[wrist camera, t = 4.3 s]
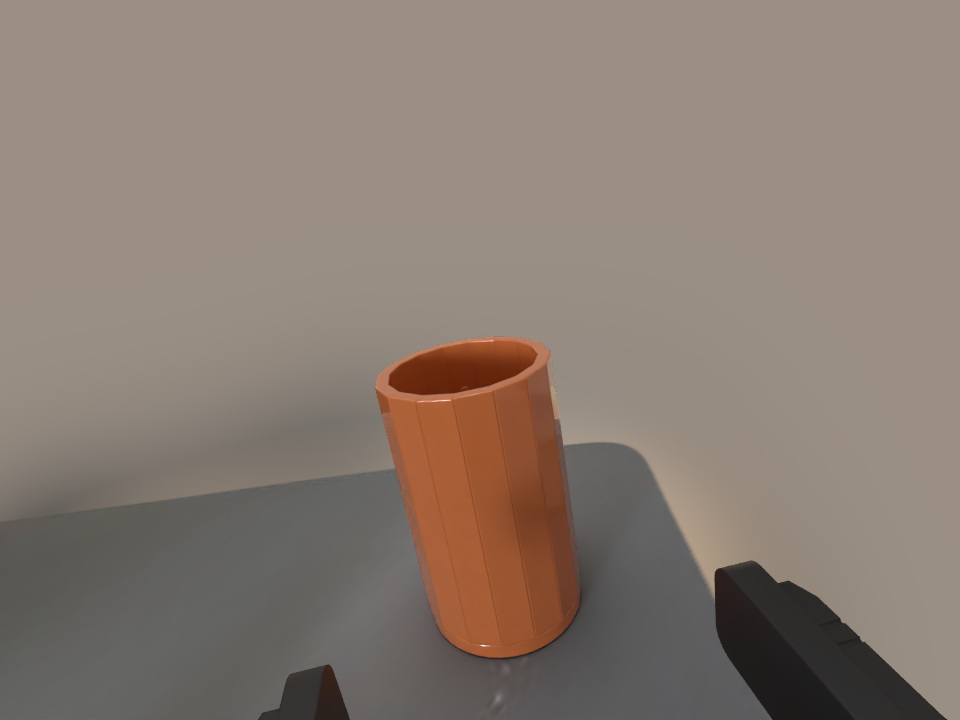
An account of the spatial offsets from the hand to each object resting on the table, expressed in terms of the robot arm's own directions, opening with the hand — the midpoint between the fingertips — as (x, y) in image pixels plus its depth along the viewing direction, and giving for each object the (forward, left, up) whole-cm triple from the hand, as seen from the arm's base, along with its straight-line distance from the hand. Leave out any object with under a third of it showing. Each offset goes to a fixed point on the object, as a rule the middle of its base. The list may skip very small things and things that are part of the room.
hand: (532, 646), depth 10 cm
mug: (+8, -7, -7) cm, 12 cm away
